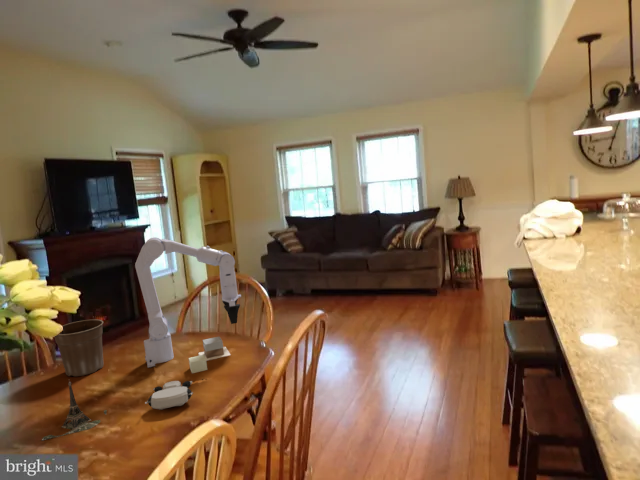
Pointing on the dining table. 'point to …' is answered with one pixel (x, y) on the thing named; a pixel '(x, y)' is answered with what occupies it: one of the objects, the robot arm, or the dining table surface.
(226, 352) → the cream board
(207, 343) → the light grey flat block
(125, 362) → the dining table surface
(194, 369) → the sage block
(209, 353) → the walnut slab
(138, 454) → the dining table surface
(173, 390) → the robot toy
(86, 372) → the plant pot
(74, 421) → the eiffel tower figurine
